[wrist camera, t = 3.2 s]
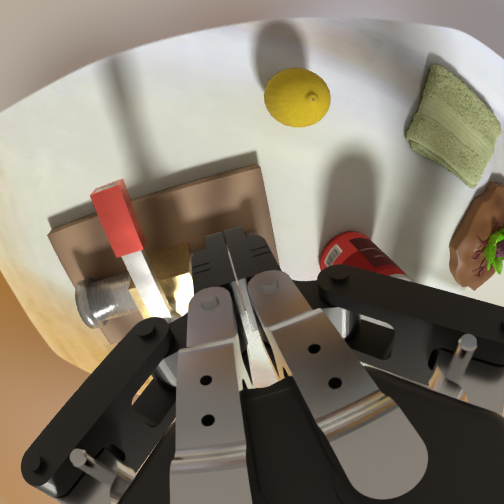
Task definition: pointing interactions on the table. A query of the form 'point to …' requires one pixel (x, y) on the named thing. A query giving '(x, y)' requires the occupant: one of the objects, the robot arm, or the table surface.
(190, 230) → the walnut board
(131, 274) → the valve lever
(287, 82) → the lemon
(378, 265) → the canned food
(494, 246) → the plant
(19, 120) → the table surface
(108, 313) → the valve body
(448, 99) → the washcloth
